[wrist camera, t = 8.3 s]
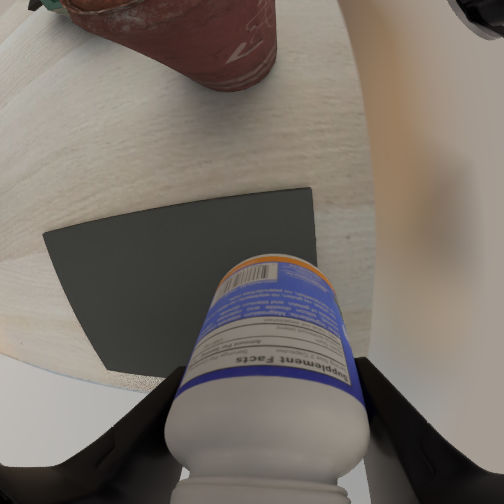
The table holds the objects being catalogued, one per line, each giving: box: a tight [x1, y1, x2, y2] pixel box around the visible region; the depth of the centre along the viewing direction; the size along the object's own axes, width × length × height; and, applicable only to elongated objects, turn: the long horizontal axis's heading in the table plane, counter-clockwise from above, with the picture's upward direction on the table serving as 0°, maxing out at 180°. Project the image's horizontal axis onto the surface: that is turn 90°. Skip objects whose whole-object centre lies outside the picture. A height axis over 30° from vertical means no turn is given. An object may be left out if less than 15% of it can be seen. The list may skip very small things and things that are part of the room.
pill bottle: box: [164, 254, 370, 504], centre depth 7 cm, size 5×5×10 cm
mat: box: [42, 187, 317, 378], centre depth 24 cm, size 26×19×1 cm
